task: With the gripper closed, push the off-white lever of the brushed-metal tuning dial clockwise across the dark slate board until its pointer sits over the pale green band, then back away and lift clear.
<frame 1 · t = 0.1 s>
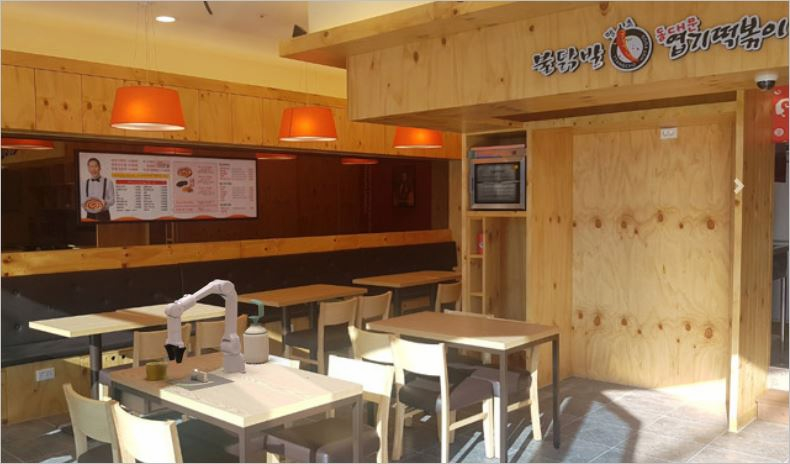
hand: (175, 361, 308), 10 cm above the table, fingers open, 7 cm apart
tuning dial: (200, 375, 310), point 3 cm above the table, hinge at 92.0°
soap bottle: (256, 362, 351), on the table
mug: (158, 380, 318), on the table
tuner board: (195, 381, 313), on the table
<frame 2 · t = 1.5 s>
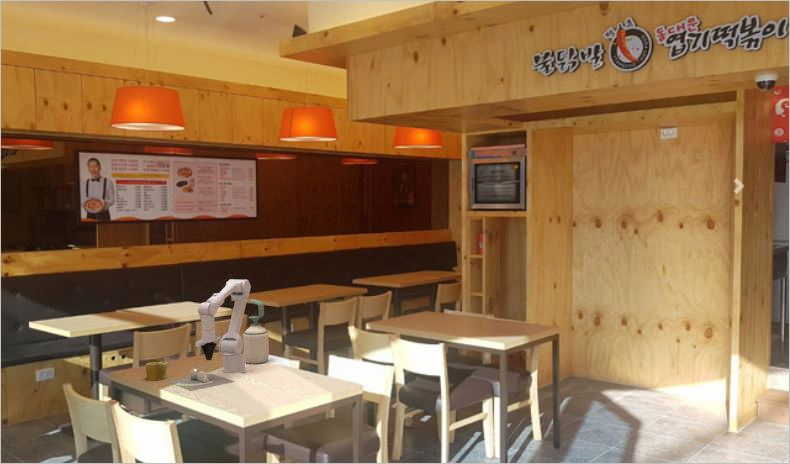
hand: (208, 359, 312), 10 cm above the table, fingers closed
nothing on the table moved.
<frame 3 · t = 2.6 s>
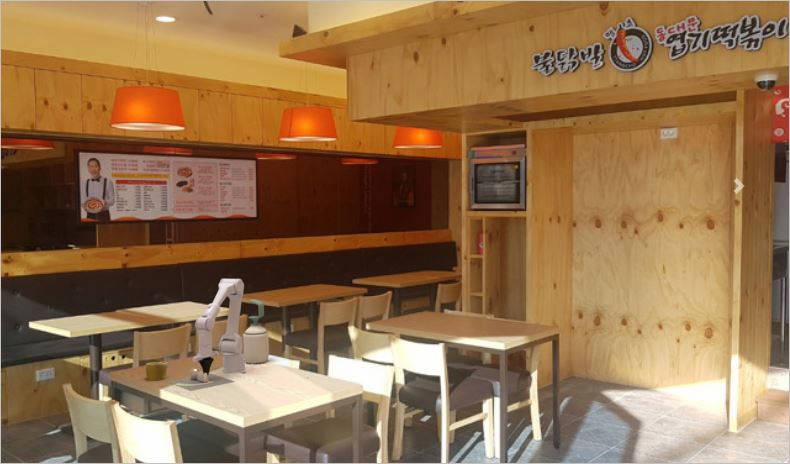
hand: (206, 374, 310), 4 cm above the table, fingers closed, pressing on tuning dial
tuning dial: (200, 375, 310), point 3 cm above the table, hinge at 92.0°, touching gripper
everything else where it was.
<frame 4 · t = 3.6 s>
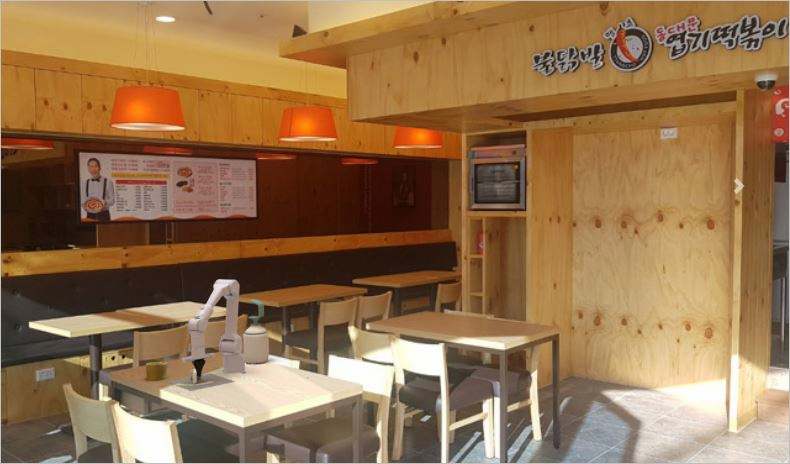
hand: (199, 376, 308), 4 cm above the table, fingers closed, pressing on tuning dial
tuning dial: (195, 376, 309), point 3 cm above the table, hinge at 59.7°, touching gripper
everything else where it was.
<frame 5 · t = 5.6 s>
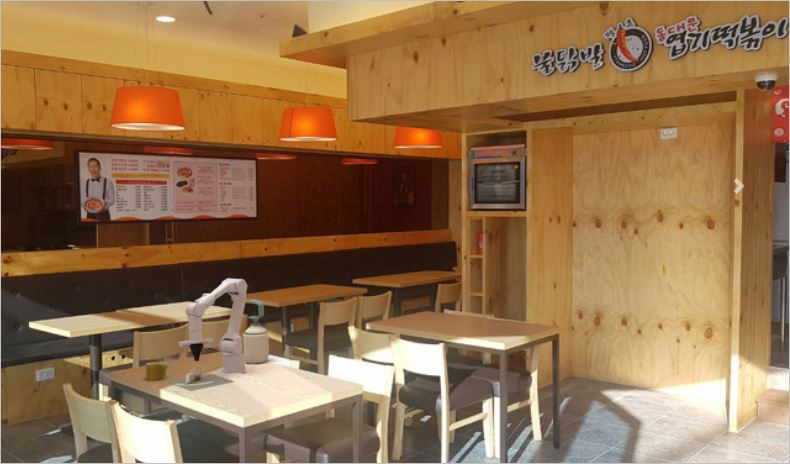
hand: (196, 360, 311), 10 cm above the table, fingers closed
tuning dial: (191, 376, 309), point 3 cm above the table, hinge at 39.5°
everything else where it was.
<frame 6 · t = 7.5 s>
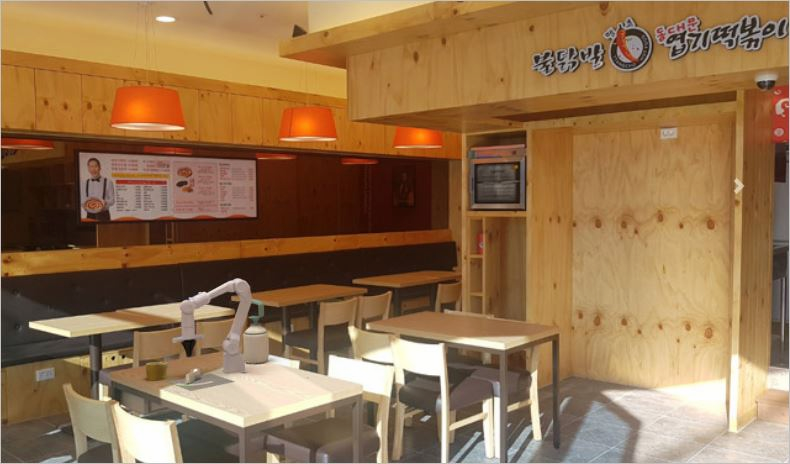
hand: (188, 356, 319), 10 cm above the table, fingers closed
nothing on the table moved.
at the end: tuning dial at +40° (first picture: +92°) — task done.
